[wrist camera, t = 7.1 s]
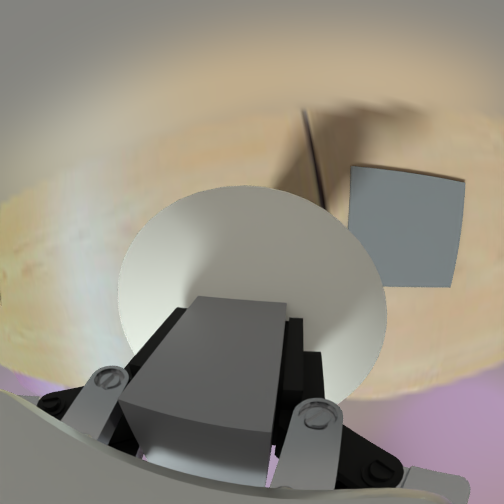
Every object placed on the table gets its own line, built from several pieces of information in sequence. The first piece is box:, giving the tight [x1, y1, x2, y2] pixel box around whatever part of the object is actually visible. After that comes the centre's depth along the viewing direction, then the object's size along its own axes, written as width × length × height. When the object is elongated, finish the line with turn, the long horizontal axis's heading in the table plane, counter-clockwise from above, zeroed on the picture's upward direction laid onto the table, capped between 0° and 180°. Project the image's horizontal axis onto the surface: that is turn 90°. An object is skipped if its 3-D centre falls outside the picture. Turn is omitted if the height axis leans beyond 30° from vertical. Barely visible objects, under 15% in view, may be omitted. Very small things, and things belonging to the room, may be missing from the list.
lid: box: [117, 185, 387, 487], centre depth 9 cm, size 12×12×7 cm
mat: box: [348, 166, 465, 287], centre depth 29 cm, size 16×14×1 cm
